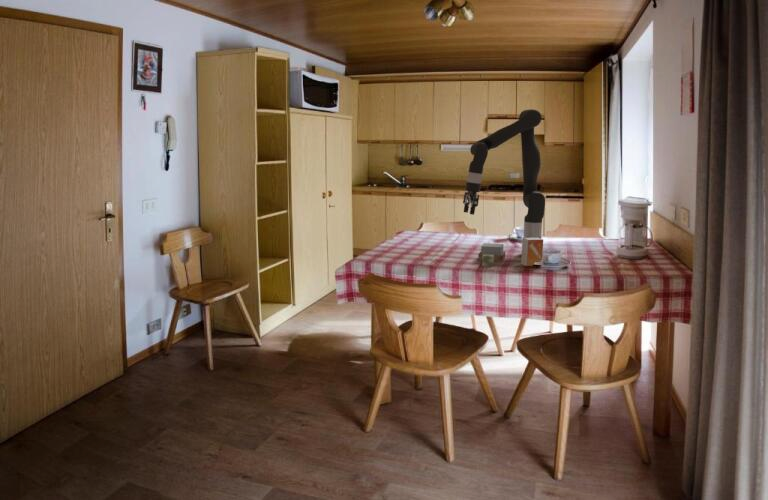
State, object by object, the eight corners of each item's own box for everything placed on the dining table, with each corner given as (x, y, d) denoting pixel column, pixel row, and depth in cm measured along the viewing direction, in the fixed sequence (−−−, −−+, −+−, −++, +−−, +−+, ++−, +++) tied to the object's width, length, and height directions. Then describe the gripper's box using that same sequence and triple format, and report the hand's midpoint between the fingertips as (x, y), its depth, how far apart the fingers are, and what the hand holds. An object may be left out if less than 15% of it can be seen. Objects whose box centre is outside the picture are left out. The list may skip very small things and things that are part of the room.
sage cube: (493, 264, 294) (494, 254, 293) (492, 266, 289) (492, 256, 288) (483, 264, 296) (483, 254, 295) (481, 266, 291) (482, 255, 290)
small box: (526, 266, 290) (528, 239, 288) (520, 264, 296) (522, 237, 294) (542, 265, 292) (543, 239, 290) (536, 263, 298) (537, 237, 296)
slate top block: (503, 251, 309) (503, 244, 308) (501, 255, 300) (501, 247, 299) (483, 250, 312) (483, 243, 311) (481, 254, 302) (481, 246, 302)
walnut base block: (505, 259, 310) (505, 251, 310) (502, 263, 299) (502, 255, 298) (481, 257, 314) (482, 250, 313) (478, 262, 303) (478, 254, 302)
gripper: (486, 184, 303) (480, 216, 305) (475, 181, 316) (470, 212, 319) (472, 182, 301) (467, 214, 303) (462, 180, 314) (456, 210, 317)
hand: (468, 213), depth 311 cm, fingers open, 8 cm apart
